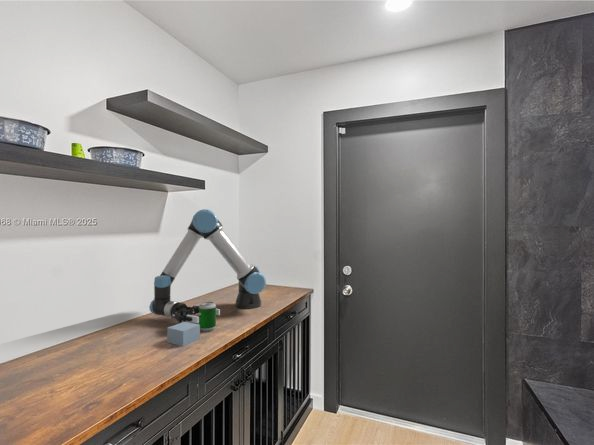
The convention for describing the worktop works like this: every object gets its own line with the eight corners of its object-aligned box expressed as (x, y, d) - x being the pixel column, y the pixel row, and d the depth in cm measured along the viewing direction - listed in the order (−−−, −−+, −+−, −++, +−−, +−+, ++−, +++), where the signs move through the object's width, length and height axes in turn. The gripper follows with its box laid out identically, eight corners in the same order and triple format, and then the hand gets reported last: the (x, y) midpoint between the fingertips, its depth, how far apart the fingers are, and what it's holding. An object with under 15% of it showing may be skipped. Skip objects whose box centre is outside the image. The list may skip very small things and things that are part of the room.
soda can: (218, 327, 147) (219, 301, 147) (210, 332, 140) (210, 306, 140) (204, 326, 149) (204, 300, 150) (195, 331, 142) (195, 304, 142)
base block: (184, 335, 137) (184, 321, 137) (199, 338, 133) (199, 324, 133) (167, 342, 129) (167, 327, 129) (183, 346, 125) (183, 331, 125)
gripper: (195, 311, 165) (227, 316, 155) (154, 325, 143) (188, 332, 133) (195, 296, 165) (227, 301, 155) (154, 308, 143) (188, 314, 133)
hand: (209, 316), depth 144 cm, fingers open, 13 cm apart
